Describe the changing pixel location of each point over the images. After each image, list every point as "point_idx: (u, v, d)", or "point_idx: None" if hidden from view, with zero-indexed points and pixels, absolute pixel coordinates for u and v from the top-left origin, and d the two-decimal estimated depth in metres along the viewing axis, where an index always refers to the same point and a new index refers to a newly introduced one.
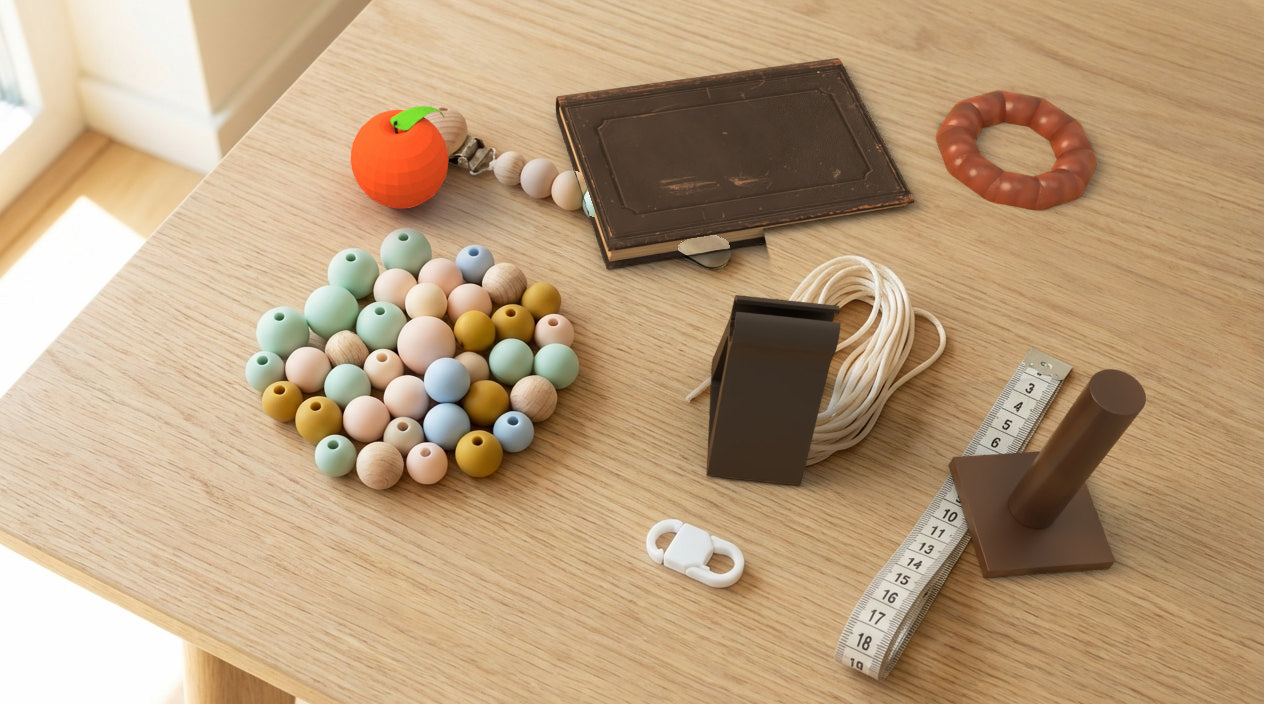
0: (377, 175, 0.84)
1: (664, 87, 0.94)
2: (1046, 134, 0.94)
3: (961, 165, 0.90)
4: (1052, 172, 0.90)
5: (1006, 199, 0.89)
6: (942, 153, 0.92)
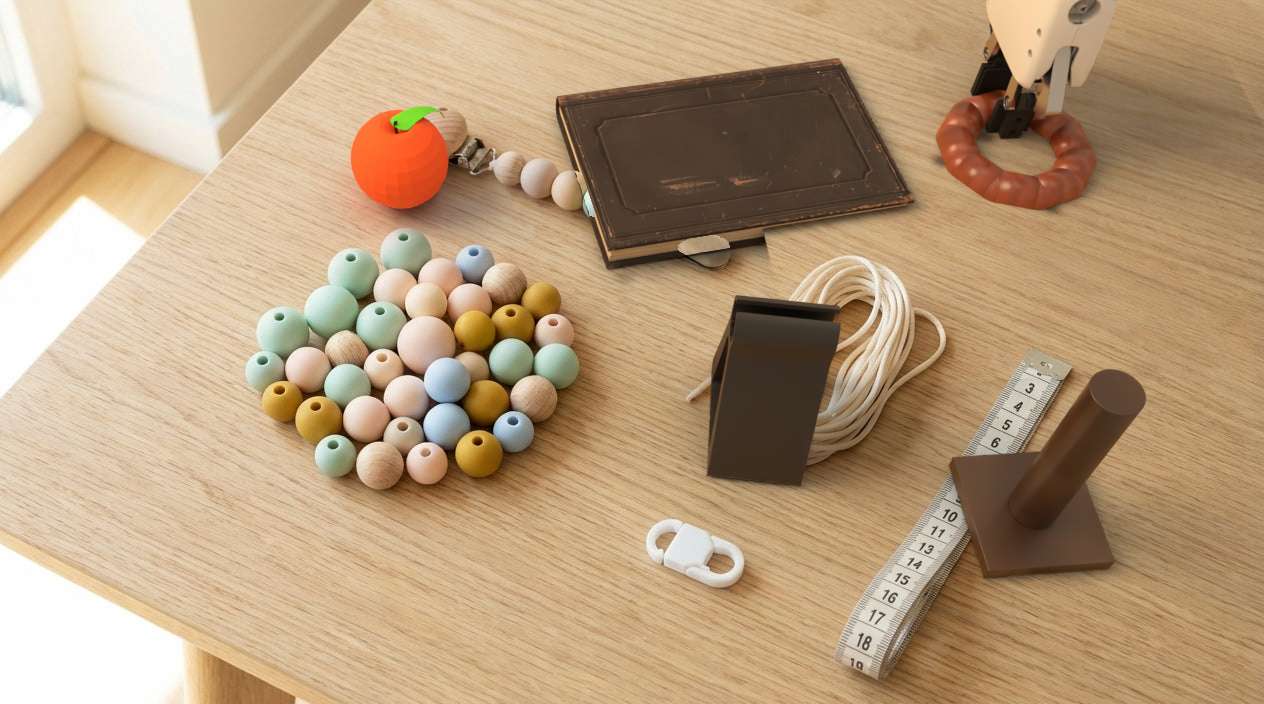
0: (377, 175, 0.84)
1: (663, 87, 0.94)
2: (1046, 134, 0.94)
3: (961, 165, 0.90)
4: (1052, 172, 0.90)
5: (1006, 199, 0.89)
6: (942, 153, 0.92)
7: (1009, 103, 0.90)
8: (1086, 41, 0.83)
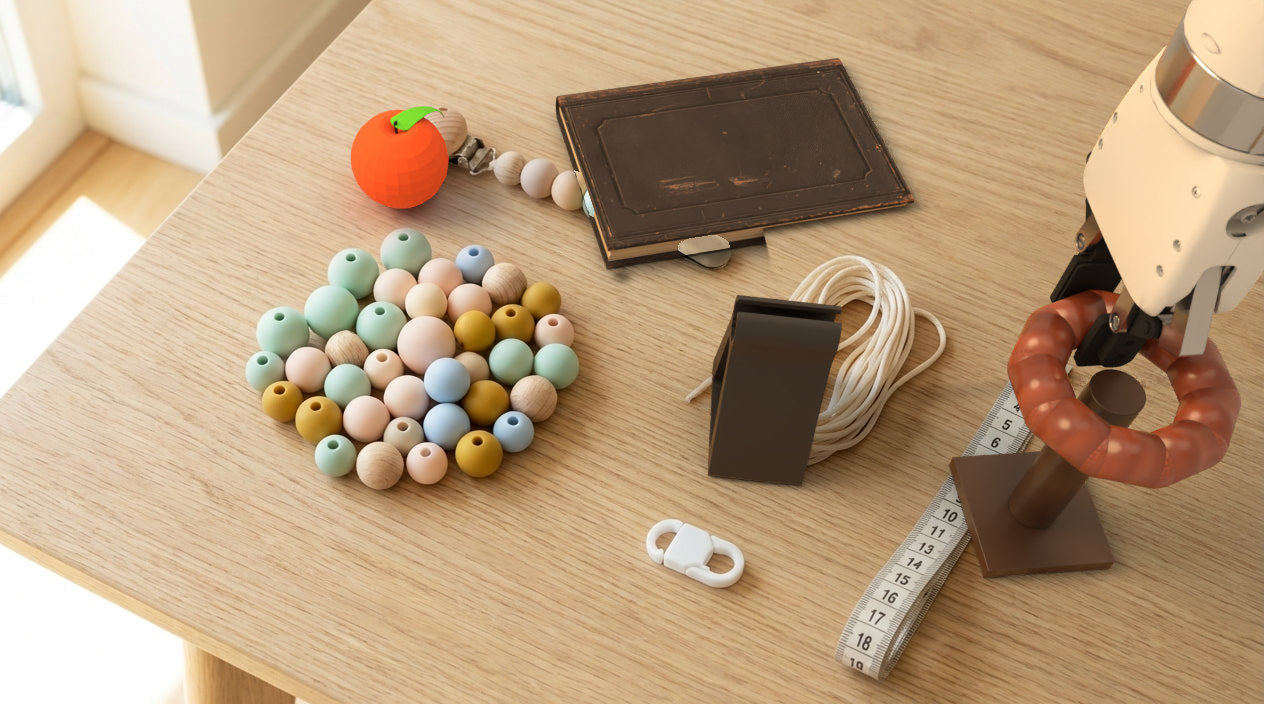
0: (377, 175, 0.84)
1: (663, 87, 0.94)
2: (1165, 358, 0.65)
3: (1049, 416, 0.62)
4: (1181, 428, 0.62)
5: (1116, 471, 0.61)
6: (1019, 392, 0.64)
7: (1119, 325, 0.62)
8: (1248, 259, 0.55)
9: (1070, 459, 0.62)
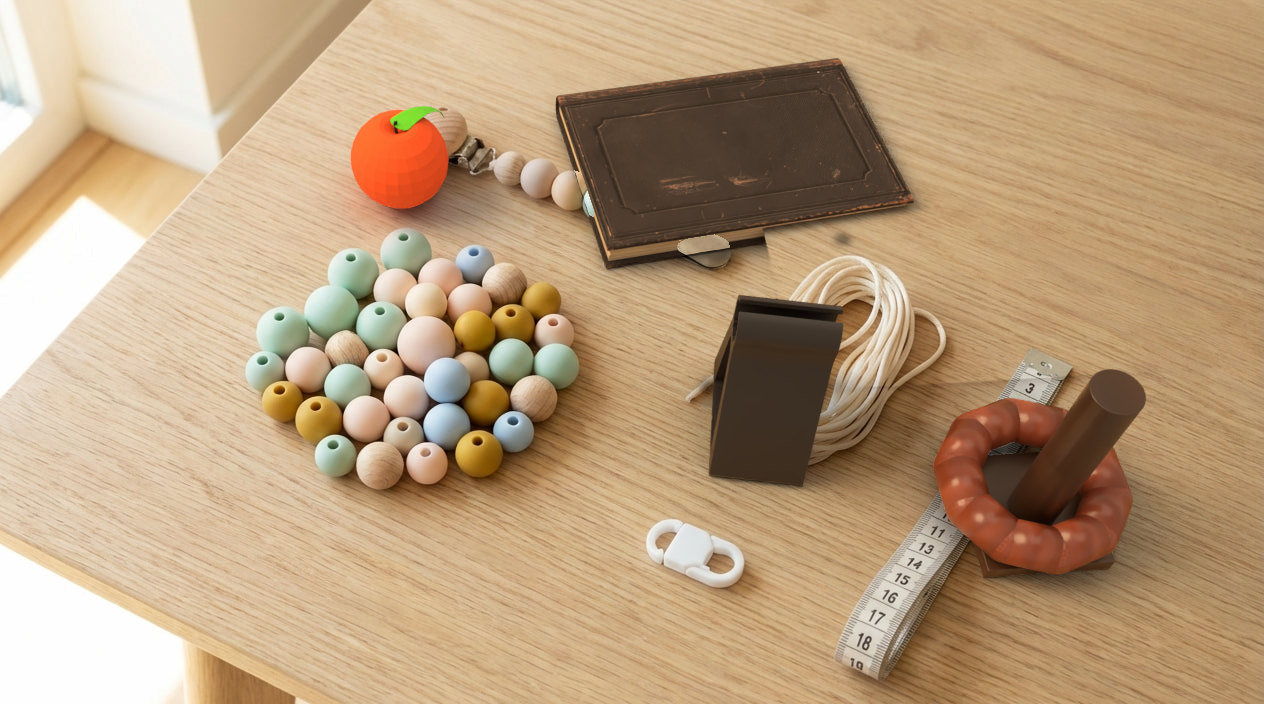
0: (377, 175, 0.84)
1: (663, 87, 0.94)
2: None
3: (965, 511, 0.73)
4: (1078, 522, 0.72)
5: (1021, 559, 0.72)
6: (941, 488, 0.74)
7: None
8: None
9: (983, 548, 0.73)
